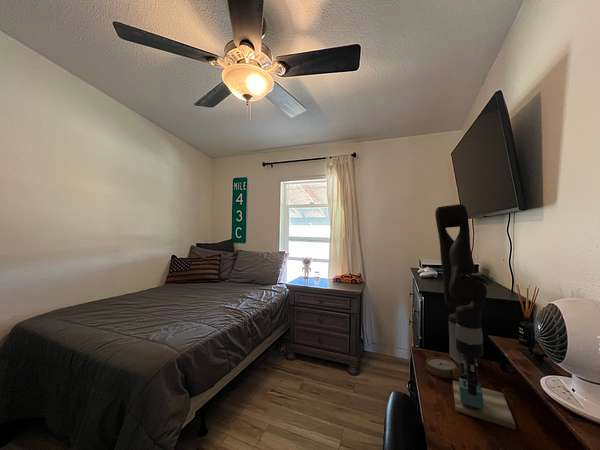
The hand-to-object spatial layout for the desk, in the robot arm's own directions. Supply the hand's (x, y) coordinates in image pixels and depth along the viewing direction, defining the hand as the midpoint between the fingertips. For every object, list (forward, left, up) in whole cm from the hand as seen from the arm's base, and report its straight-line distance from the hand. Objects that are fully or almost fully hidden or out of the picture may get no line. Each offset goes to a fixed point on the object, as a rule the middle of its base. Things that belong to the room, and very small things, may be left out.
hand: (470, 386), depth 79 cm
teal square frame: (0, 0, -4) cm, 4 cm away
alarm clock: (-20, -7, -7) cm, 22 cm away
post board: (-4, +3, -7) cm, 8 cm away
